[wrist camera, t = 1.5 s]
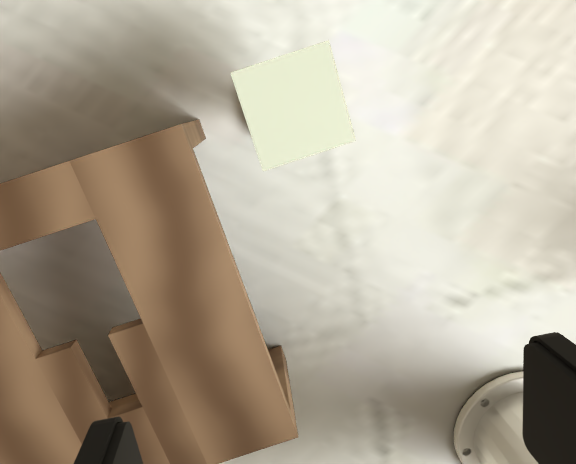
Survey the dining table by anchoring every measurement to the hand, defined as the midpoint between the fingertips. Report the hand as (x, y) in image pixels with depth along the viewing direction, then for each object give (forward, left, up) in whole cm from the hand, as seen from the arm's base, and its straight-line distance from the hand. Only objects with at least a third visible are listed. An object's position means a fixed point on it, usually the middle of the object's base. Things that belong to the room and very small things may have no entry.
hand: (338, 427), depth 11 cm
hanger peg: (-3, -7, -27) cm, 28 cm away
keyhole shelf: (+13, +3, -27) cm, 31 cm away
